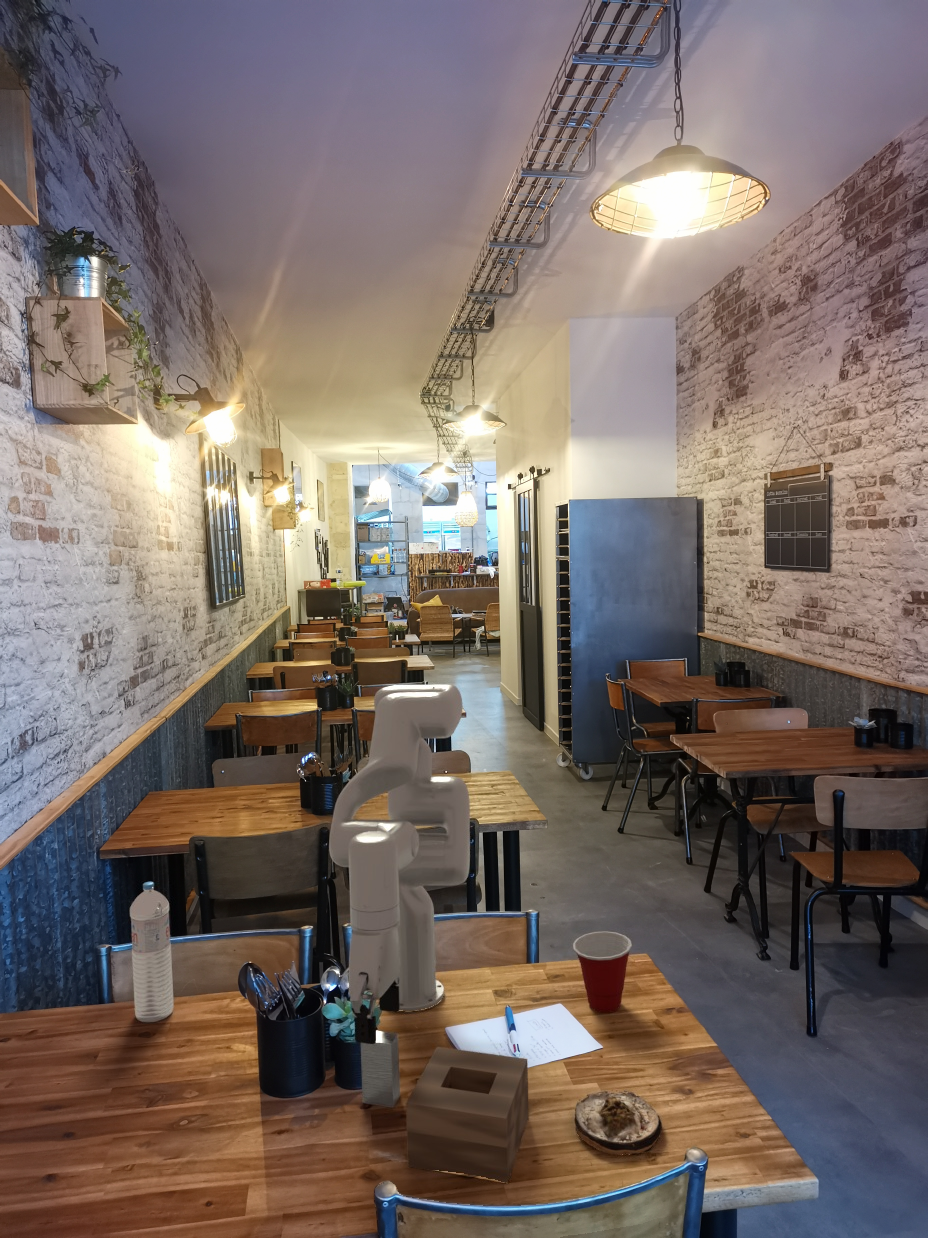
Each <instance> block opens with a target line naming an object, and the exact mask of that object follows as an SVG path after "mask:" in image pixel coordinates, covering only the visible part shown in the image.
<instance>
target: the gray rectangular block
mask: <svg viewBox="0 0 928 1238" xmlns="http://www.w3.org/2000/svg"><path fill="white" fill-rule="evenodd" d="M399 1050H400V1049H399V1033H396V1032H389V1031H382V1030H376V1042H375V1044H366V1043H360V1055H361V1056H360V1062H361V1063H360V1065H361V1066H360V1067H361V1087H362V1089H361V1092H362V1103H363V1104H369V1105H373V1106H374V1105H375V1106H381V1107H386V1108H391V1109H392V1108H394V1107H395V1106H396V1103H397V1102H398V1100H399V1099H400V1097H401V1086H400V1085H401V1084H400V1054H399V1053H400V1051H399Z"/></svg>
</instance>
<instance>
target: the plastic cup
mask: <svg viewBox="0 0 928 1238" xmlns="http://www.w3.org/2000/svg"><path fill="white" fill-rule="evenodd" d="M572 945H573V946H572V947H573V951H574V952H575V953H576V955H577V959H578V961H579V964H580V968H581V972H582V978H583V979H582V980H583V984H584V988H585V990H586V997H587V1002H588V1005H589V1007H590V1008H591V1009H592V1010H593V1011H595V1012H599V1013H603V1014H604V1013H614V1012H616V1011H618V1010H619V1009H620V1007H621V1004H622V999H623V998H622V997H623V991H624V987H625V986H624V985H625V980H626V972H627V965H628V961H629V956H630V950H631V949H632V940H631V939H630V938H629V937H627V936H626V935H624V934H621V933H619V932H614V931H613V932H612V931H592V932H589V933H585V934H583V935H581V936H580V937H577V938H576V939H575V940H574V942H573V944H572Z"/></svg>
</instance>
